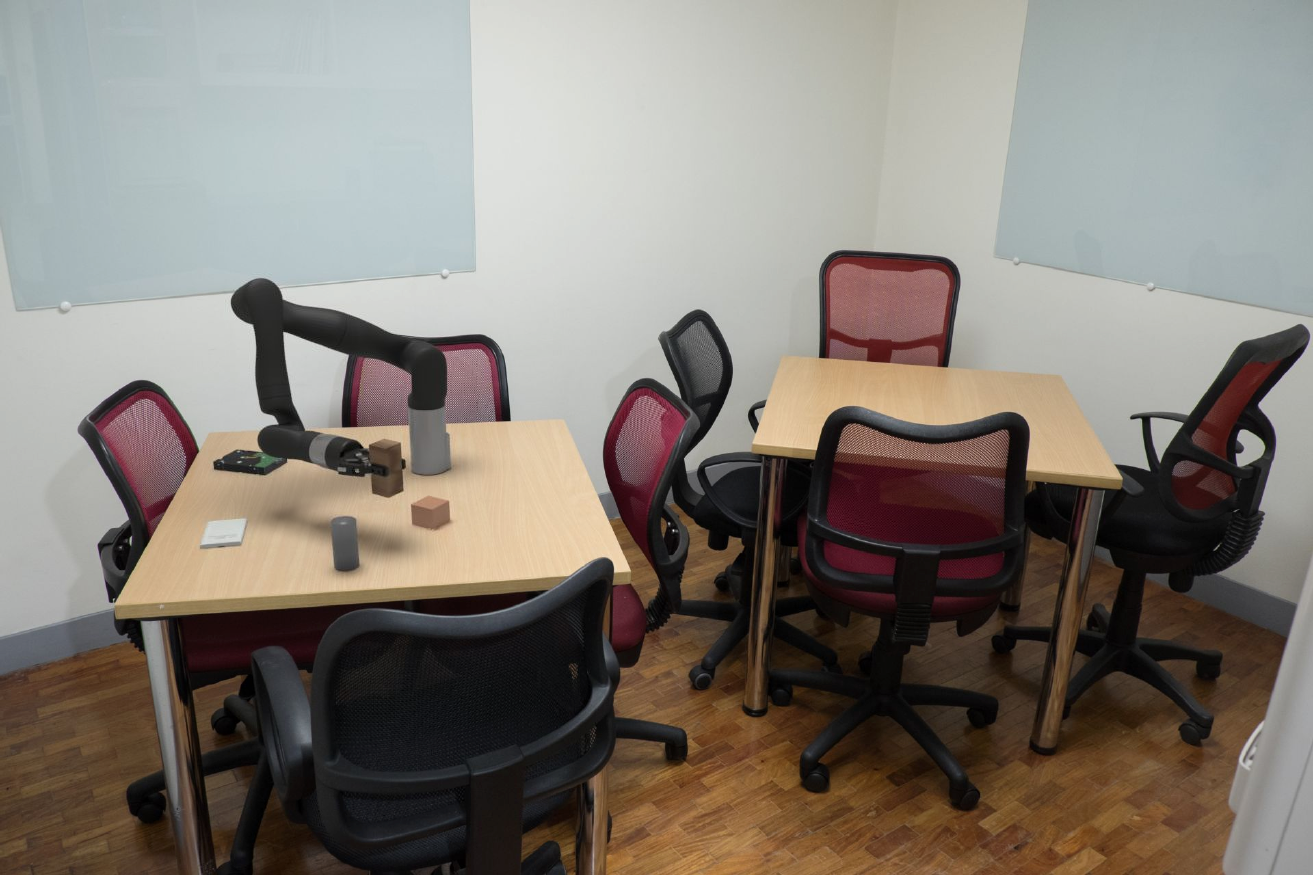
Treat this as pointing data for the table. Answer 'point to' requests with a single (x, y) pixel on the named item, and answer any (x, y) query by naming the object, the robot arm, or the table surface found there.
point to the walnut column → (391, 457)
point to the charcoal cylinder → (345, 543)
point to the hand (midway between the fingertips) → (396, 468)
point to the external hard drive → (224, 533)
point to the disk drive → (248, 462)
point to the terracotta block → (430, 512)
